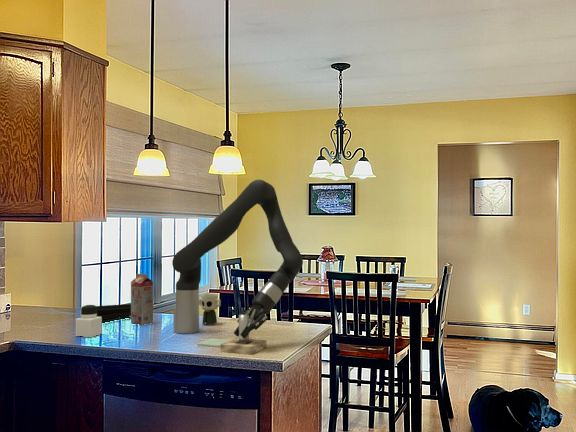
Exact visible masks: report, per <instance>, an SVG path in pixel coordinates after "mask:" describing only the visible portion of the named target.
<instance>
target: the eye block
mask: <svg viewBox="0 0 576 432" xmlns="http://www.w3.org/2000/svg"><path fill="white" fill-rule="evenodd" d="M229 340H230V341H228V342H225V343H223V344H221V347H220V353H221V352H222V353H230V354H231V353H233V354H243V355H244V354H245V355H254V354H256V353H258V352H260V351H262V350H264V349H267V348H268V347H267V346H268V344H267V343H268V342H267V341H268V340H267V339H256V338H249V344H239V337H235V338H233V339H229Z"/></svg>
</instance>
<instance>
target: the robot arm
mask: <svg viewBox="0 0 576 432" xmlns="http://www.w3.org/2000/svg"><path fill="white" fill-rule="evenodd" d="M256 205H259V206H260V207H261V209H262V210H263V212H264V213H265V216H266V220H267V223H268V224H267V225H268V232H269V236H270V238H271V241H272V243H273V245H274V247H275V250H276V251H277V252H278V253H280V254H281V257H282V259H283V260H282V263H281V265H280V266H279V268H278V269H277V270H276V271H275V272H274V273H273V274H272V275H271V276H270V278H268V279H267V280H268V281H267V282H266V283H265V284H264V285H263V286H262V287H261V288H260V289H259V291H258V292H257V294H256V295H255V297H253V299H252V300H251V304H252V305H251V306H250V307H249V308H248V309H247V310H246V309H245V308H243V309H242V310H241V313H240V315H241V314H248V315H249V323H248V325H247V326H248V327H247V326H246V327H245V329H244V330H243V331H242V333H241V334H240V335H241V336H242V337H243V338H246V337H247V336H248V334H249V335H250V333H251V331H254V330H258V329H259V328H261V326H263V324H264V323H266V322H267V321H268V319H269V317H268V316H267V315H270V312H271V311H272V310H273V309H274V307H275V306H276V304H277V303H278V302H279V300H280V299H281V297H282V295H283V294H284V293H285V291H286V290H287V288H288V287H289V285H290V284H291V282H292V281H294V279H295V278H296V277H297V275H298V274H299V273H300V271H301V269H302V266H303V264H304V259H303V256H302V254H301V252H300V250H299V249H298V247H297V246H296V244H295V243H294V241H293V238H292V236H291V234H290V232H289V229H288V227H287V224H286V223H285V220H284V217H283V214H282V211H281V208H280V204H279V201H278V196H277V193H276V189H275V187H274V186H273V185H272V184H270V183H269V182H267V181H265V180H264V179H263V180H262V179H254V180H253V181H251V182H250V183H249V184H248V185H247V186H246V187H245V188H244V189H243V191H242V192H240V194H239V195H238V196H237V198H235V199H234V201H233V202H232V203H230V204H229V205H228V206H227V207H226V208H225V209H224V210H223V211H222V212H221V213H220V214H219V215H218V216H216V217H215V218H214V219H213V220H212V221H211V222H210V223H209V224H208V225H207V226H206V227H205V228H204V229H203V230H202V231H201V232H200V233H199V234H198V235H197V236H196V237H195V238H194V239H193V240H192V241H190V242H189V243H188V244H187V245H185V246H184V247H183V248H181V249H180V250H178V251H177V252H176V253H175V254H174V256H173V257H172V268H173V269H174V270H175V271H176V272H177V273H179V278H178V280H177V281H176V283H175V307H174V308H173V332H174V333H177V334H195V333H198V332H200V305H199V298H200V283H201V280H202V279H201V276H202V259H201V258H202V257H203V256H205V254H207V253H208V252H210V251H211V250H213V249H215V248H217V247H218V246H219V245H221V244H223V243H224V242H225V241H227V240H228V239H229V238H230V237H231V236H233V234H234V233H235V232H236V231H237V230H238V229H239V226H241V223H242V220H243V219H244V217H245V215H246V214H247V213H248V212H249V211H250V210H251V209H252V208H254V207H255V206H256ZM237 323H238V324H239V318H238V319H237ZM233 334H234V335H235V336H236V337H239V325H238V326H237V327H236V329H235V330H234V331H233Z"/></svg>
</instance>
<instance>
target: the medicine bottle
mask: <svg viewBox="0 0 576 432" xmlns="http://www.w3.org/2000/svg"><path fill="white" fill-rule="evenodd" d="M97 306H98V305H94V304H84V305H82V306H81V307H80V317H78V318H75V337H76V336H84V337H92V338H94V337H93V336H95V337H97V336H96V335H99V336H101V335H100V334H103V332H102V331H103V326H102V321H103V319H102V317H96V315H97ZM84 337H83V338H84Z"/></svg>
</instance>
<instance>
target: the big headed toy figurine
mask: <svg viewBox="0 0 576 432" xmlns="http://www.w3.org/2000/svg"><path fill="white" fill-rule="evenodd" d="M218 296H219V295H218V293H217V294H216V293H203V294H201V297H199V307H201V309H202V310H203V313H202V325H205V324H206V325H214V324H216V323H218V321H217V320H218V319H217V312H216V310H217V309H218V308H220V307H221V303H222V301H221V299H219V297H218Z"/></svg>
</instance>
